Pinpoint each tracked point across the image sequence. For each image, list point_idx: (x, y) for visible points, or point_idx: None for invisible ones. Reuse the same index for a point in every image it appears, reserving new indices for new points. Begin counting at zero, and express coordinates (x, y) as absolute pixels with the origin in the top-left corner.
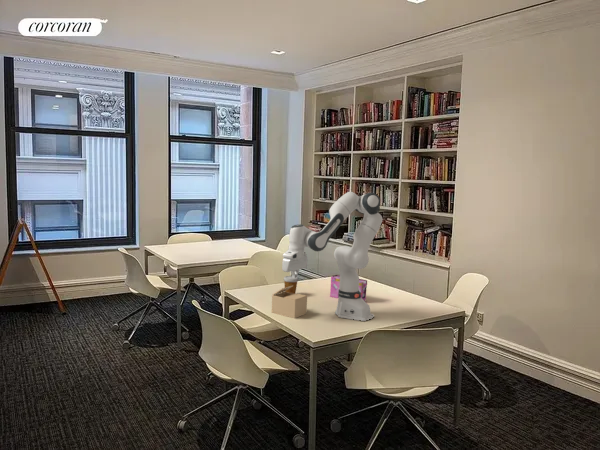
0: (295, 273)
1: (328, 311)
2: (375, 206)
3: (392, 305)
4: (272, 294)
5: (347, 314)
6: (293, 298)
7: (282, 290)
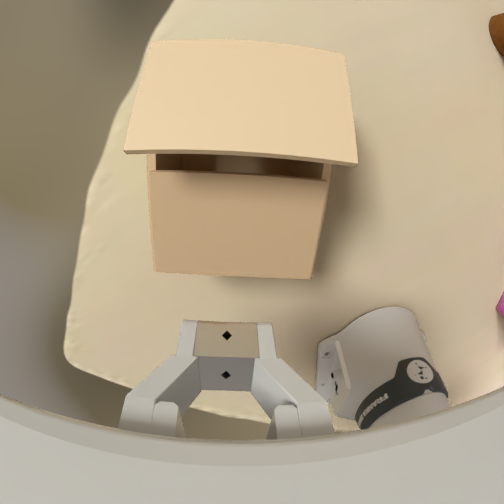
0: (259, 382)
1: (378, 283)
2: None
3: (481, 364)
4: (152, 44)
5: (335, 367)
6: (172, 248)
7: (216, 103)
